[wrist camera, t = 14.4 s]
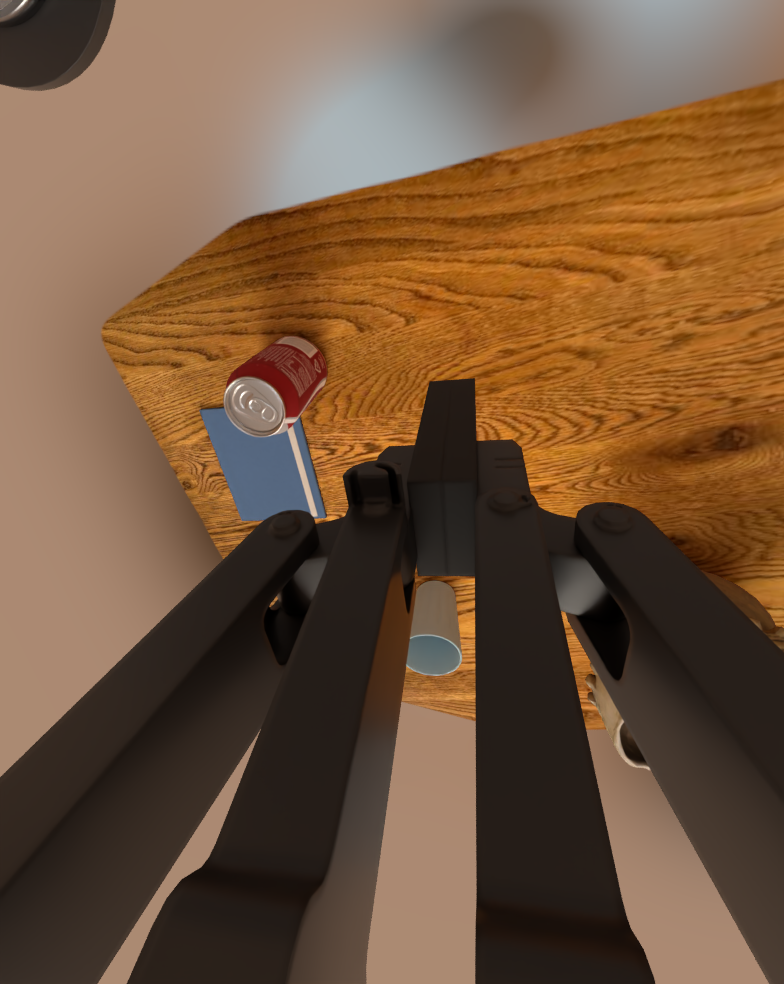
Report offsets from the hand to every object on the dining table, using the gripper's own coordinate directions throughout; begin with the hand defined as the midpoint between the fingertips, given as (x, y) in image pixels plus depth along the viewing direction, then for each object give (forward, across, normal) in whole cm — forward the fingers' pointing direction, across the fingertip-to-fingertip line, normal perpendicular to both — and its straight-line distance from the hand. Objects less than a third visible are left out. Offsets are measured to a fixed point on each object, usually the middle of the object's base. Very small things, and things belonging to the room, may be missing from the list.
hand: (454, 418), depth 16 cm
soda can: (+32, -18, -6) cm, 37 cm away
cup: (+32, -6, -40) cm, 51 cm away
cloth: (+32, -25, -18) cm, 44 cm away
